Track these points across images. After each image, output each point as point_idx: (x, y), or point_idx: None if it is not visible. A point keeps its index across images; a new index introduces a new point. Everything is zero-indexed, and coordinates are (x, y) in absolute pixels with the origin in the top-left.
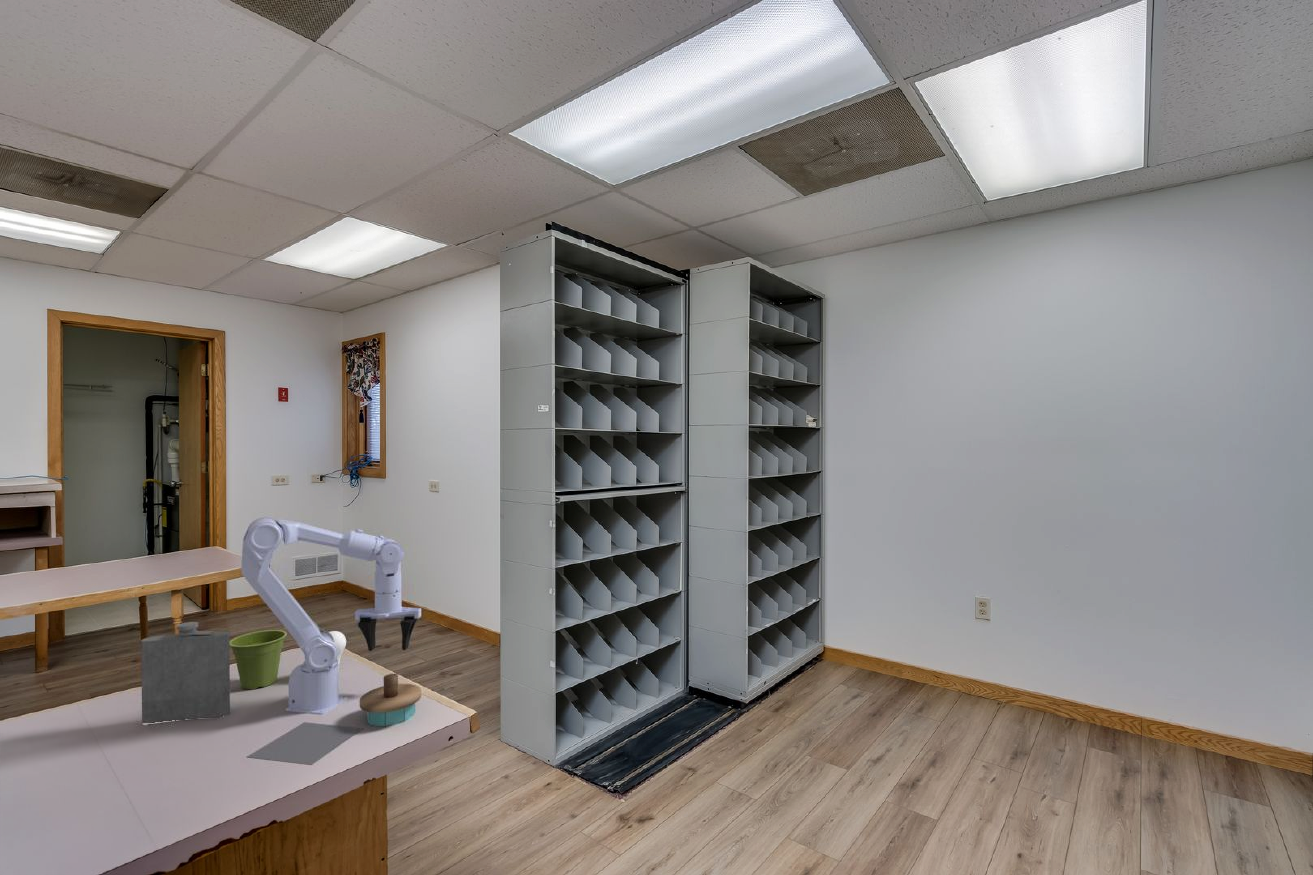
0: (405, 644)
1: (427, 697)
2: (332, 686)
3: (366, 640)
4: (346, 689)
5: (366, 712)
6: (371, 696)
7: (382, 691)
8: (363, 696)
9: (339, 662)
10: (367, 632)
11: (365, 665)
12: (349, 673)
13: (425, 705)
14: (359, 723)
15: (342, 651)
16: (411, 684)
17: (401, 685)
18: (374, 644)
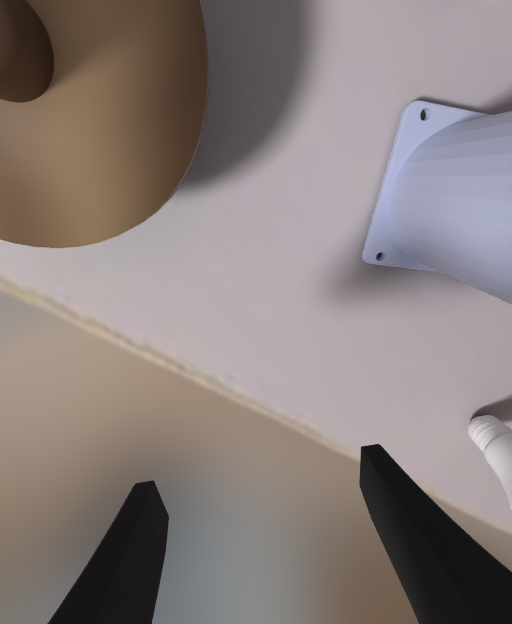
0: (112, 523)
1: (66, 304)
2: (450, 181)
3: (442, 513)
4: (399, 339)
5: None
6: (131, 16)
7: (113, 118)
8: (188, 14)
9: (486, 456)
10: (496, 618)
11: None
12: (431, 434)
13: None
14: None
15: (510, 494)
16: (6, 237)
17: (56, 219)
18: (370, 504)
